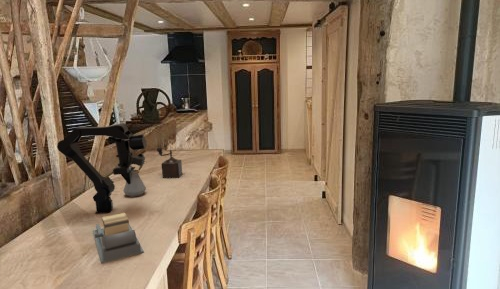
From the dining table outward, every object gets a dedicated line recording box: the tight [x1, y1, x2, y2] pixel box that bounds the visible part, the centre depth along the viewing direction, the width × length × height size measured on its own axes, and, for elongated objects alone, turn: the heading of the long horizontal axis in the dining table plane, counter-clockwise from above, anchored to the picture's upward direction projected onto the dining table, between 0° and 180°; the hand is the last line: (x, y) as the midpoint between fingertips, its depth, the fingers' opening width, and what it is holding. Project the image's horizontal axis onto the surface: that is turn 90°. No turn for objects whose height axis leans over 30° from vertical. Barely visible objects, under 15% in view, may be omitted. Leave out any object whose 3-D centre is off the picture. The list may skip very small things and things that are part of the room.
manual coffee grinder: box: [156, 146, 183, 179], centre depth 221 cm, size 16×11×18 cm
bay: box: [92, 223, 144, 264], centre depth 133 cm, size 29×15×10 cm, turn 29°
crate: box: [101, 212, 130, 236], centre depth 131 cm, size 7×8×10 cm
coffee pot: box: [123, 160, 148, 198], centre depth 193 cm, size 21×12×15 cm, turn 173°
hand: (129, 183), depth 165 cm, fingers closed
